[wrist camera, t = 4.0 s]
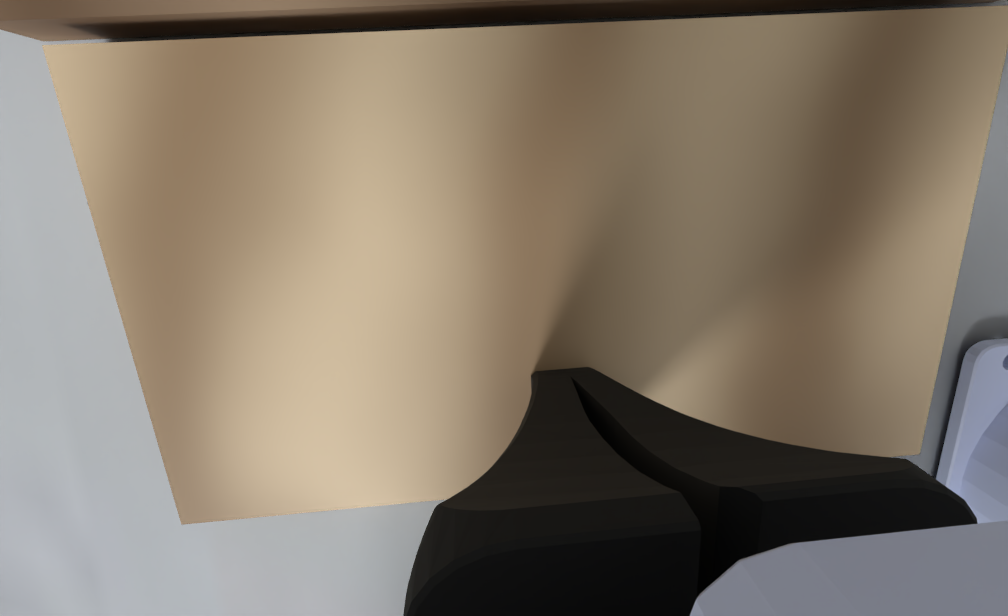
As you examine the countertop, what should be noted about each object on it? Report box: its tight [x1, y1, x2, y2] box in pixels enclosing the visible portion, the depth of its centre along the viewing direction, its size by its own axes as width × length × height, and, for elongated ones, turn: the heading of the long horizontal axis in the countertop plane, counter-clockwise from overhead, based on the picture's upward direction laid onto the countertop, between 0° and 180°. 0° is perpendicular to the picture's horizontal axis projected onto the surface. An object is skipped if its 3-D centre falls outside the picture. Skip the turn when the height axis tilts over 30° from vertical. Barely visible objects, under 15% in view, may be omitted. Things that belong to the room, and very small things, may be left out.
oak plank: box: [42, 5, 1008, 524], centre depth 11 cm, size 18×10×2 cm, turn 93°
